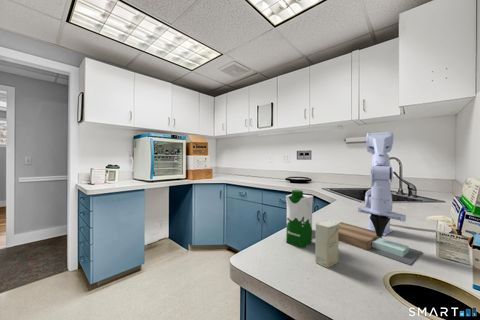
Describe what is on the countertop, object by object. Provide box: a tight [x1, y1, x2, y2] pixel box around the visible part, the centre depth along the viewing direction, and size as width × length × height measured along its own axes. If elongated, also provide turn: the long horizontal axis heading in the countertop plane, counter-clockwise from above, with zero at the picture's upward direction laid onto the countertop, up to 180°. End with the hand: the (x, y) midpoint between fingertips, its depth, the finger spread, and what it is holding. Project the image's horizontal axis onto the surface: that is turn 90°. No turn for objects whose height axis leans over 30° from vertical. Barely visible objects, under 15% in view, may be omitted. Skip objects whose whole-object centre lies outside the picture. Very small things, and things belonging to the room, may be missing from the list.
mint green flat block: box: [371, 237, 410, 257], centre depth 71 cm, size 6×9×2 cm, turn 36°
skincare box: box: [314, 220, 339, 268], centre depth 63 cm, size 6×4×12 cm
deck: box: [338, 221, 383, 251], centre depth 82 cm, size 14×16×3 cm
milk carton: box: [285, 189, 314, 249], centre depth 77 cm, size 9×9×20 cm
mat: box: [369, 247, 423, 266], centre depth 70 cm, size 14×11×1 cm
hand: (379, 235), depth 74 cm, fingers closed
